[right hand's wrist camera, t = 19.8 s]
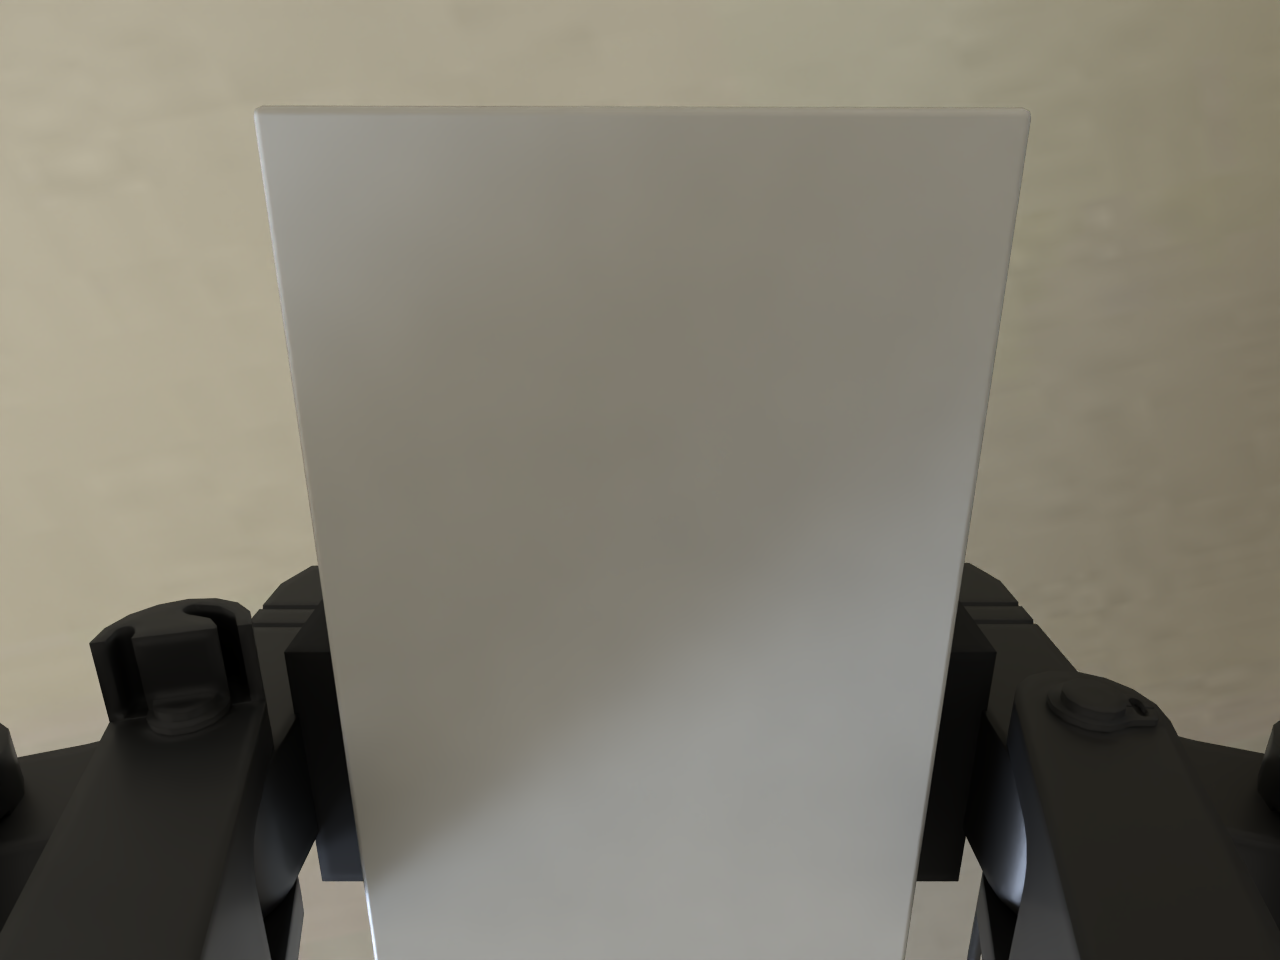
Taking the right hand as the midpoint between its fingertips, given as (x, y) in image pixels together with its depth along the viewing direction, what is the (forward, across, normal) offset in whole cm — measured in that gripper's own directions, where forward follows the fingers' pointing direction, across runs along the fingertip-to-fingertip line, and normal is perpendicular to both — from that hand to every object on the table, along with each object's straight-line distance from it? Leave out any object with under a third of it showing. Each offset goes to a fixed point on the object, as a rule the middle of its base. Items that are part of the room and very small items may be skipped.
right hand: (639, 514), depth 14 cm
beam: (+1, 0, -22) cm, 22 cm away
